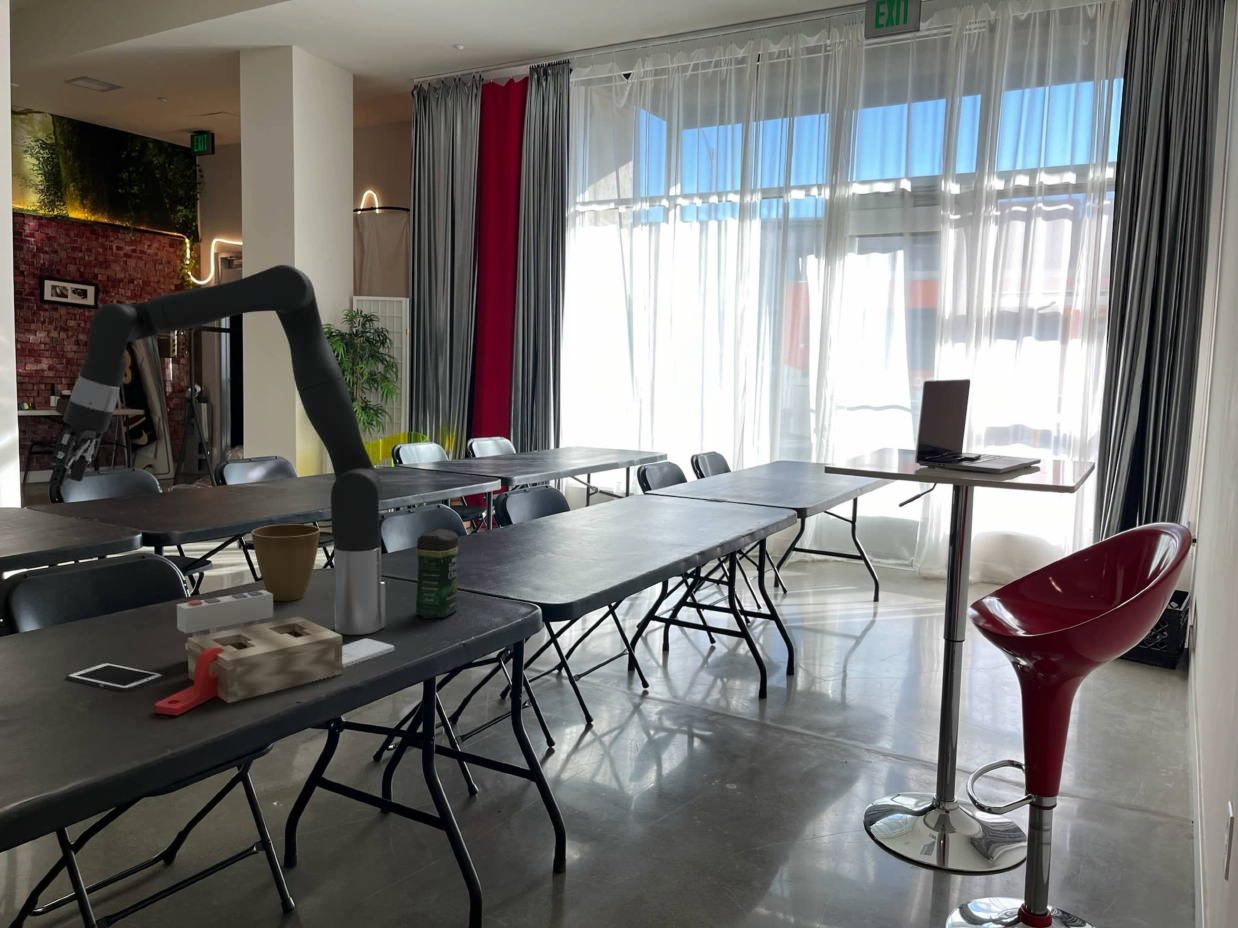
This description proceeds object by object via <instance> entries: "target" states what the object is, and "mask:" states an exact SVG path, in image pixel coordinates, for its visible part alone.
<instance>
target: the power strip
mask: <svg viewBox="0 0 1238 928" xmlns="http://www.w3.org/2000/svg"><path fill="white" fill-rule="evenodd" d="M270 618H274V600H273V594H272V593H269V592H268V591H267V590H264V589H261V590H256V591H250V592H243V593H237V594H232V595H227V596H226V595H225V596H219V597H212V598H207V599H203V600H202V599H201V600H199V599H193V600H189V601H188V602H183V603H178V604H176V625H177V626H176V627H177V630H179V631H180V632H182V633H184V634H187V635H188V634H191V633H192V637H196V636H201V635H206V631H207V630H210V629H213V628H218V627H224V626H229V625H234V624H239V623H247V626H252V625H257V624H260V620H263V619H265V620H266V619H270ZM184 647H185V648H184V649H185V650H186V651H188V642H187V643H184Z"/></svg>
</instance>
